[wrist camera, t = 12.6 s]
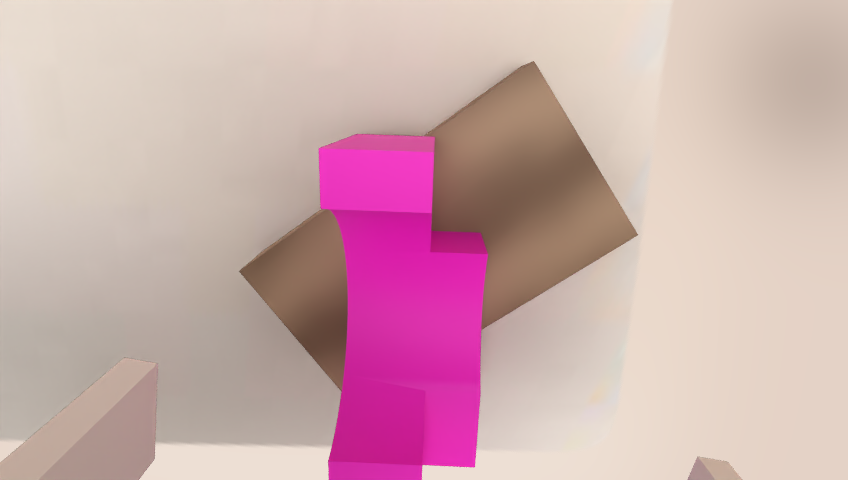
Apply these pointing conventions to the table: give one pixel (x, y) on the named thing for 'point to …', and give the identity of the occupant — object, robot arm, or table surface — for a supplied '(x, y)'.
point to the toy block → (402, 314)
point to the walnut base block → (467, 216)
